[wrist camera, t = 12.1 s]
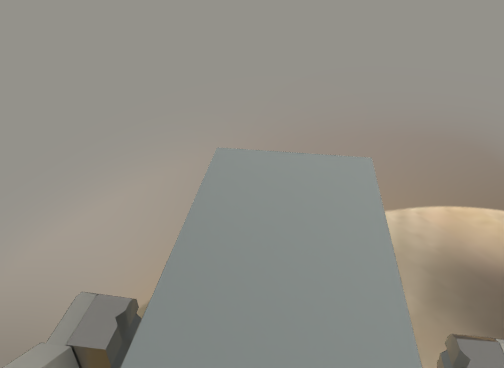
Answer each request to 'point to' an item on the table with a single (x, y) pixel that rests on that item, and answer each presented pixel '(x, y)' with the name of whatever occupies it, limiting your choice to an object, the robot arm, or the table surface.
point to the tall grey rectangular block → (280, 271)
